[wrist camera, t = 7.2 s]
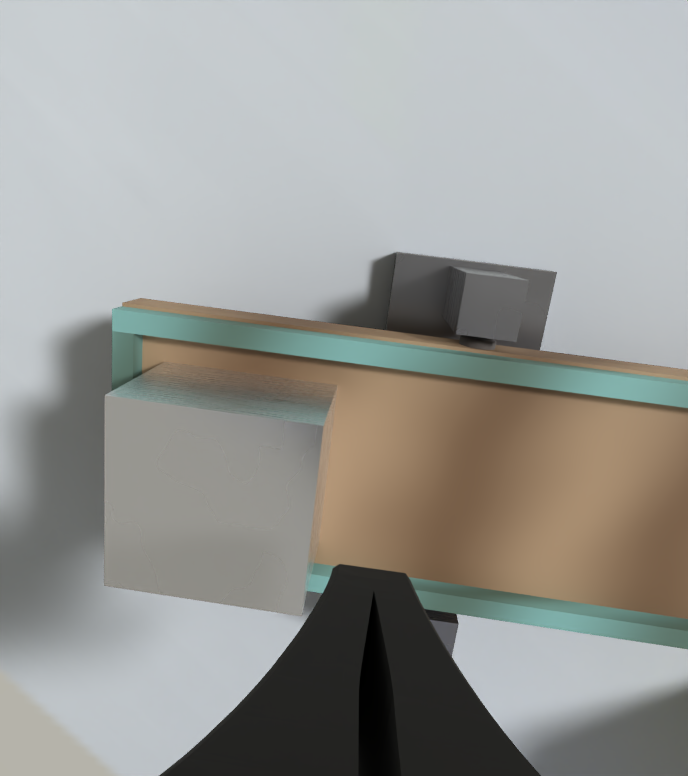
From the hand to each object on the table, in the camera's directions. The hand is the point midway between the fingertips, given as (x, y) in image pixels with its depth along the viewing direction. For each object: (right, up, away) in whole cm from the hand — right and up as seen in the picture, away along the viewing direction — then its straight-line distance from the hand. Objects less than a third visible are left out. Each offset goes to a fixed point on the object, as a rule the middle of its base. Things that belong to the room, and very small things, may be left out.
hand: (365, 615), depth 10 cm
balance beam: (+4, +2, +7) cm, 8 cm away
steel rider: (-3, +2, +6) cm, 7 cm away
